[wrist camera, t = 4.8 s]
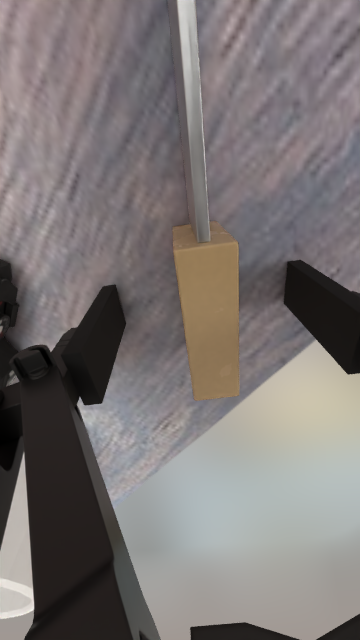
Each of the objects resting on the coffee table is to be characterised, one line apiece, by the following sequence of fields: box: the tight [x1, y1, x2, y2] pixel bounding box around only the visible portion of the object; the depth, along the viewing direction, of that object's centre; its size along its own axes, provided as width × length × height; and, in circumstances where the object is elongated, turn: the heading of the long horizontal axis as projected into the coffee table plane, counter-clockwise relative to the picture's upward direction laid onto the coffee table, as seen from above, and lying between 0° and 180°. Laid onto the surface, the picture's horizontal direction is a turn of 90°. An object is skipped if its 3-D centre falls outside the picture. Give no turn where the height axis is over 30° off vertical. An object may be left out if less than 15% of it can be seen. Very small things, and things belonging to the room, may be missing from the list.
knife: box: [167, 0, 239, 401], centre depth 10 cm, size 20×2×5 cm, turn 7°
